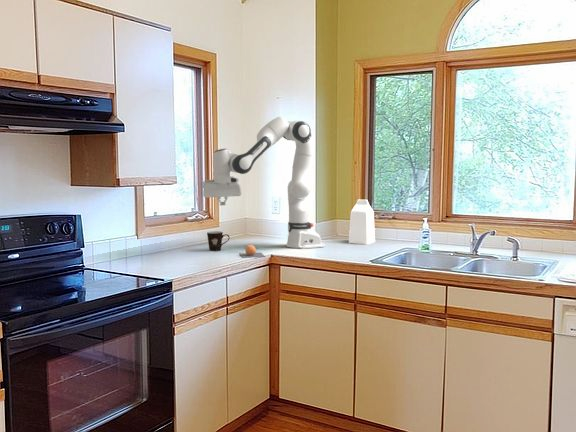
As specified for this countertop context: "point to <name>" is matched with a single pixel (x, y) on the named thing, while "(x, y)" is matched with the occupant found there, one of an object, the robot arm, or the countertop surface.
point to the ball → (250, 250)
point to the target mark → (245, 255)
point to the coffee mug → (215, 240)
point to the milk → (362, 223)
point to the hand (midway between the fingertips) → (222, 205)
